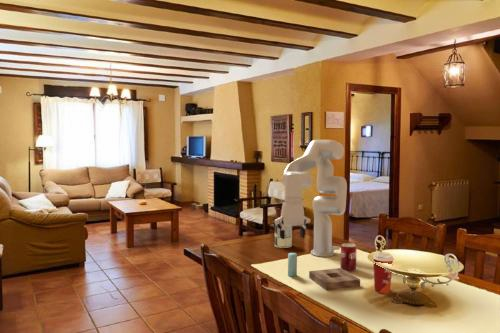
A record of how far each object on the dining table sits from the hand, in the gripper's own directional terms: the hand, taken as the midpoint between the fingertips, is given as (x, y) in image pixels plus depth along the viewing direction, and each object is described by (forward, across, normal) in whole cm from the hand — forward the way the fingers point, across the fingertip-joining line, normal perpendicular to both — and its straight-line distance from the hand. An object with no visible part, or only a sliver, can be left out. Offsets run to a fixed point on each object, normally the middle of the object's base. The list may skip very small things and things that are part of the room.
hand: (292, 237), depth 185 cm
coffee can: (+17, -16, -50) cm, 56 cm away
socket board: (+17, -14, +12) cm, 26 cm away
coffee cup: (+18, -28, +28) cm, 43 cm away
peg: (+18, 0, 0) cm, 18 cm away
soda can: (+17, -30, 0) cm, 34 cm away
